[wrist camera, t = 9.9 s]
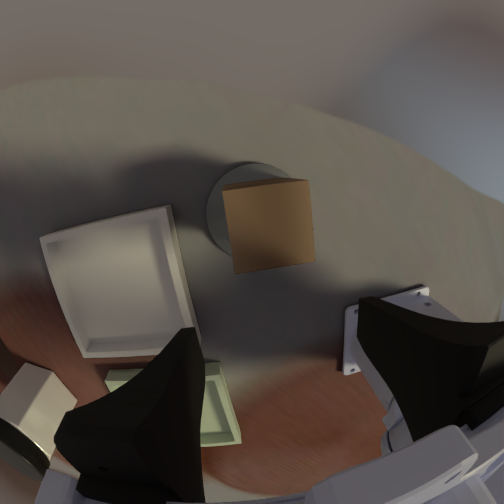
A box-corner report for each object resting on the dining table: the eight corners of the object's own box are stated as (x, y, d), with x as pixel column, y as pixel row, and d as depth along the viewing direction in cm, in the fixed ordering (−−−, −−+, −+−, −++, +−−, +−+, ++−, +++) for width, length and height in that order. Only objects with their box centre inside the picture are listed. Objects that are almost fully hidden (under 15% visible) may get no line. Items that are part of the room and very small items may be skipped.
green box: (219, 361, 23) (219, 374, 21) (240, 431, 26) (241, 443, 25) (109, 369, 23) (104, 380, 21) (149, 436, 26) (146, 446, 24)
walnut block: (281, 177, 19) (308, 180, 12) (287, 232, 20) (315, 261, 14) (223, 185, 18) (222, 191, 12) (231, 241, 20) (235, 274, 13)
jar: (70, 422, 25) (43, 488, 13) (22, 387, 23) (-15, 446, 11) (83, 391, 23) (46, 471, 12) (26, 349, 21) (-26, 416, 10)
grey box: (170, 204, 19) (165, 207, 17) (201, 337, 22) (200, 350, 21) (50, 232, 18) (39, 237, 17) (90, 347, 22) (83, 357, 20)
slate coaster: (297, 158, 19) (299, 158, 18) (307, 251, 21) (309, 253, 20) (199, 171, 19) (198, 171, 18) (215, 266, 21) (215, 268, 20)
